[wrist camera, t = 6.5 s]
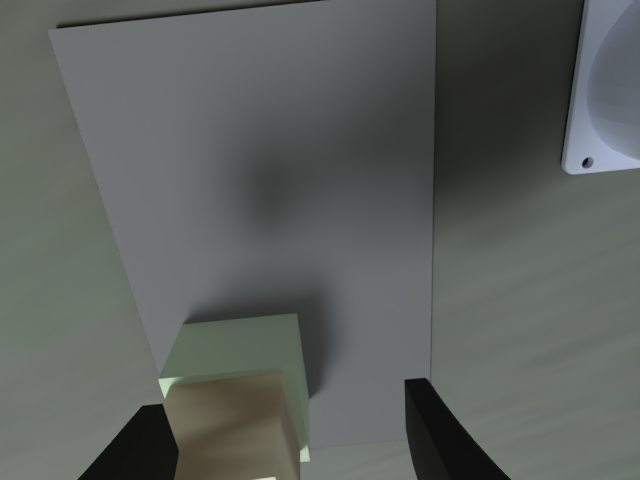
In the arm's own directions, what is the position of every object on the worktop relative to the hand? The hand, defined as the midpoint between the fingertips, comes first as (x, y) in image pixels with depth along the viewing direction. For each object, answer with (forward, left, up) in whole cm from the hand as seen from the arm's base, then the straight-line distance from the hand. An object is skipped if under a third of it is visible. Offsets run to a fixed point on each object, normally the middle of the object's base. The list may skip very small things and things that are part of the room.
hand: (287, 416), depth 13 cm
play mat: (+1, +1, -10) cm, 10 cm away
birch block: (+3, +5, -5) cm, 8 cm away
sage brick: (+3, +6, -9) cm, 11 cm away
